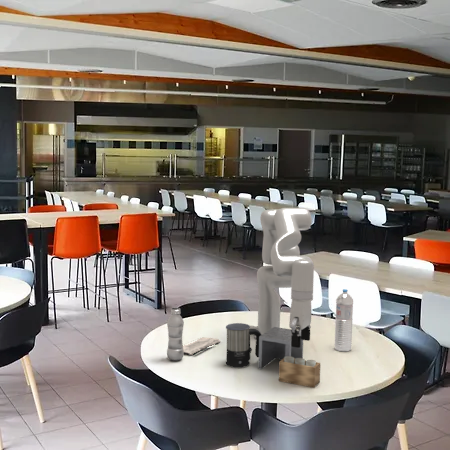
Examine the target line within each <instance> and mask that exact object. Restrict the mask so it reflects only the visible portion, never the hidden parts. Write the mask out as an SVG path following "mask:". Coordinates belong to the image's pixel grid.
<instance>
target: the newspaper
mask: <svg viewBox="0 0 450 450" xmlns="http://www.w3.org/2000/svg"><path fill="white" fill-rule="evenodd" d="M199 338H200V339H199ZM199 338H197V339H198V340H197V341H195V342H193V343H190V344H188V345H185V344H183V345H184V346H183V351H184V353H185V354H190V356H191V355H192V356H193V354H194V353H196V352H198V351H200V350H204V349H206V348H207V347H209V346H212V345H214V344H216V343H218V344H219V342H220V343H221V340H220V339H219V338H213V337H202V338H201V337H199Z"/></svg>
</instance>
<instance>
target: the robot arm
mask: <svg viewBox="0 0 450 450" xmlns="http://www.w3.org/2000/svg"><path fill="white" fill-rule="evenodd" d="M259 222H260V225H261V228H262V232H263V238H262V248H261V249H262V252H261V258H262V262H263V263H264V264H266V265H262V266H261V267H259V268H258V270H257V272H256V282H257V288H258V289H257V290H258V295H257V296H258V300H257V301H258V302H257V303H258V304H257V305H258V306H257V308H258V309H257V310H258V311H257V326H254V325H250V328H249V329H257V330H258V331H259V332H260V333H261V335H262V334H264V333H266V332H267V331H269V330H270V329H272V328H274V327H278V328H281V327H280V326H281V325H280V324H281V296H280V294H279V293H278V292H277V291H276V289H279V288H280V289H284V288H285V289H287V288H290V289H291V291H290V299H291V304H290V310H289V311H290V312H289V329H291V346H292V347H297V348H300V347H301V340H303V341H306V342H307V341H310V340H311V327H312V326H311V323H312V301H314V300H313V299H314V280H315V279H314V277H315V276H314V274H315V271H314V269H315V264H314V261H313V260H312V258H311V257H310V256H307V255H301V252H300V247H299V244H300V242H301V241H302V234H301V231H307V230H309V229H310V228H311V227H312V222H313V219H312V214H311V212H310V210H309V209H307V208H305V207H282V208H279V209H275V208H274V209H272V208H271V209H265V210H263V211H262V212H261V214H260V221H259ZM297 330H298V331H297ZM300 333H301V336H300ZM253 338H254V339H255V340H256V336H255V335H253Z"/></svg>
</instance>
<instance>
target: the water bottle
mask: <svg viewBox="0 0 450 450" xmlns="http://www.w3.org/2000/svg"><path fill="white" fill-rule="evenodd" d="M335 303H336V306H335V307H336V308H335V309H336V310H335V325H334V326H335V327H334V350H336V351H337V352H338V351H339V352H351V350H352V345H353V343H352V340H353V314H354V313H353V311H354V310H353V309H354V306H353V305H354V298H352V296H351V295H350V294H349V293H348V289H342V293H341V294H339V295H338V296H337V298H336V299H335Z"/></svg>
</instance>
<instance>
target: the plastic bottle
mask: <svg viewBox="0 0 450 450" xmlns="http://www.w3.org/2000/svg"><path fill="white" fill-rule="evenodd" d="M181 313H182V312H181V308H180V307H172V308H170V316H169V317H168V319H167V322H166V324H167V332H168V333H167V334H168V336H167V337H168V343H167V349H166V356H167V359H168V360H169V361H181V360H182V359H183V358H184V354H185V352H184V351H183V345H184V344H183V334H184V325H185V324H184V323H185V322H184V319H183V317H182V316H181Z"/></svg>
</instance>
